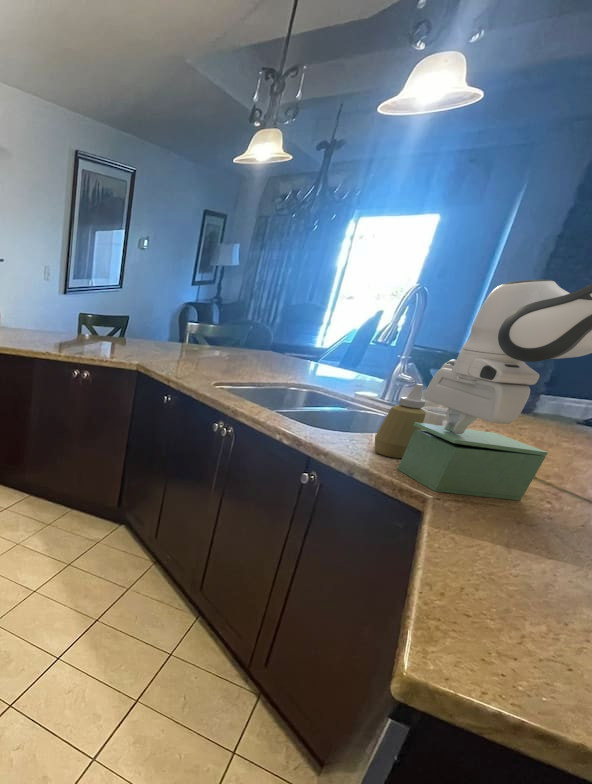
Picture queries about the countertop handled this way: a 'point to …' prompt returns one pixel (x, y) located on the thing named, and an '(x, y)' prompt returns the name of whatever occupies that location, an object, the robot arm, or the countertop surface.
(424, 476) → the tea tin
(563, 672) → the countertop surface
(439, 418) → the mug
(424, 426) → the tin lid
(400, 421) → the squeeze bottle
